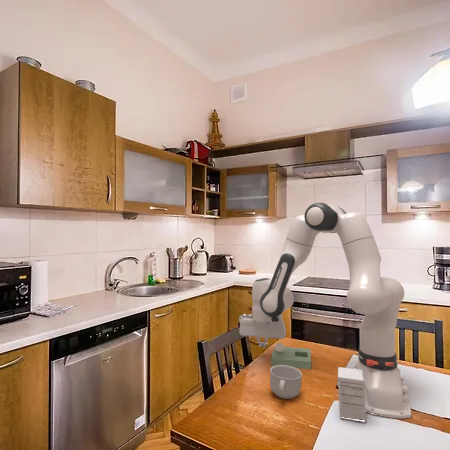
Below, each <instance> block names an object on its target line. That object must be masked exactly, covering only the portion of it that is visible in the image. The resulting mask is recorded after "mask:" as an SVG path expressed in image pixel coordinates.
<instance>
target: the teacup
mask: <svg viewBox="0 0 450 450" xmlns="http://www.w3.org/2000/svg"><path fill="white" fill-rule="evenodd" d="M269 373H270V375H269V385H270V389H271V391H272V392H273V393H274V395H276V396H277V397H279V398H281V399H286V400H291V399H293V398H295V397H297V396H299V394H300V393H301V390H302V389H301V388H302V380H303V379H302V378H303V373H302V371H301V370H300V369H299V368H294V367H291V366H287V365H277V366H272V367H270V369H269Z"/></svg>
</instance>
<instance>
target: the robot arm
mask: <svg viewBox="0 0 450 450" xmlns="http://www.w3.org/2000/svg"><path fill="white" fill-rule="evenodd" d="M320 233H325V234H326V233H328V234H335V233H336V234H337V236H338V237H339V239H340V242H341V245H342V249H343V251H344V255H345V258H346V262H347V265H348V270H349V288H348V291H347V294H346V301H347V304H348V306H349V307H350V309H352V311H354V312H355V313H357V314H360V315H364V317H363V319H362V320H361V322H360V326H359V347H358V351H357V355H358V361H357V362H356V363H354V364H353V369H361V370H362V371H363V378H364V391H365V411H366V412H365V413H367V412H369V413H373V414H376V415H375V416H377V415H380V416H379V417H382V416H385V417H384V418H388V417H389V418H390V419H409V418H412V409H411V404H410V398H409V389H408V386H407V385H402V382H404V381H405V380H404V379H405V377H404V376H401V368H399V366H398V357H397V353H396V328H397V322H398V317H399V312H400V307H401V305H402V301H403V300H404V297H405V288H404V286H403V285H402V283H400V281H398V280H397V279H395V278H390V277H386V276H384V277H383V276H382V277H381V267H380V266H381V261H382V256H381V253H380V251H379V248H378V245H377V242H376V240H375V237H374V234H373V232H372V230H371V228H370V226H369V224H368V222H367V220H366V219H365V216H364V215H363V214H362V213H360V212H356V211H352V212H351V211H350V212H346V211H345V210H344V209H343V208H341V207H339V206H336V205H334V204H330V203H325V202H316V203H313V204H310V205H309V206H308V207H307V208H306V209H305V213H304V214H300V215H297V216H296V217H294V219H293V221H292V223H291V225H290V227H289V230H288V232H287V234H286V238H285V241H284V244H283V247H282V251H281V254H280V257H279V260H278V262H277V266H276V268H275V270H274V273H273V276H272V278H268V277H266V278H265V277H263V278H258V279H256V280H254V282H253V283H252V289H251V299H252V307H251V311H252V312H251V314H248V313H247V314H246V313H243V314H241V315H240V316H238V317H239V318H238V321H239V330H238V331H239V335H240V336H242V337H255V338H256V341H257V343H258V347H259V348H267V342H268V341H269V339H280V340H284V339H285V338H286V336H287V332H286V331H287V330H286V325H285V321H284V320H283V319H284V315H283V314H282V313H284V312H285V311H287V310H289V308H290V307H292V306H293V305H294V303H295V295H294V293H293V291H292V290H291V289H290V288H288V287H287V286H288V283H289V281H290V279H291V277H292V274H293V273H294V272H295V270H297V268H299V266H301V265H302V264H303V263H305V262H306V261H307V260H308V257H309V256H310V254H311V251H312V249H313V245H314V242H315V240H316V237H317V235H319V234H320ZM261 338H264V341H261ZM369 413H368V414H369ZM373 414H372V415H373Z"/></svg>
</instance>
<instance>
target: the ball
mask: <svg viewBox="0 0 450 450" xmlns="http://www.w3.org/2000/svg"><path fill="white" fill-rule="evenodd" d="M274 346H275V349H276V351H277V352H279V353H281V352H283V351H284V347H285V344H283V343H281V342H277V343H276V344H275V345H274Z"/></svg>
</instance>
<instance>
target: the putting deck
mask: <svg viewBox="0 0 450 450" xmlns="http://www.w3.org/2000/svg"><path fill="white" fill-rule="evenodd" d="M275 346H276V345H274V347H273V350H272V353H271V357H270V366H272V367H273V366H277V365H287V366H291V367H294V368H297V369H301V370H302V369H304V370H312V349H311V348H304V347H292V346H284V351H283V352H281V353H279V352H277V351H276V349H275Z"/></svg>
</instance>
